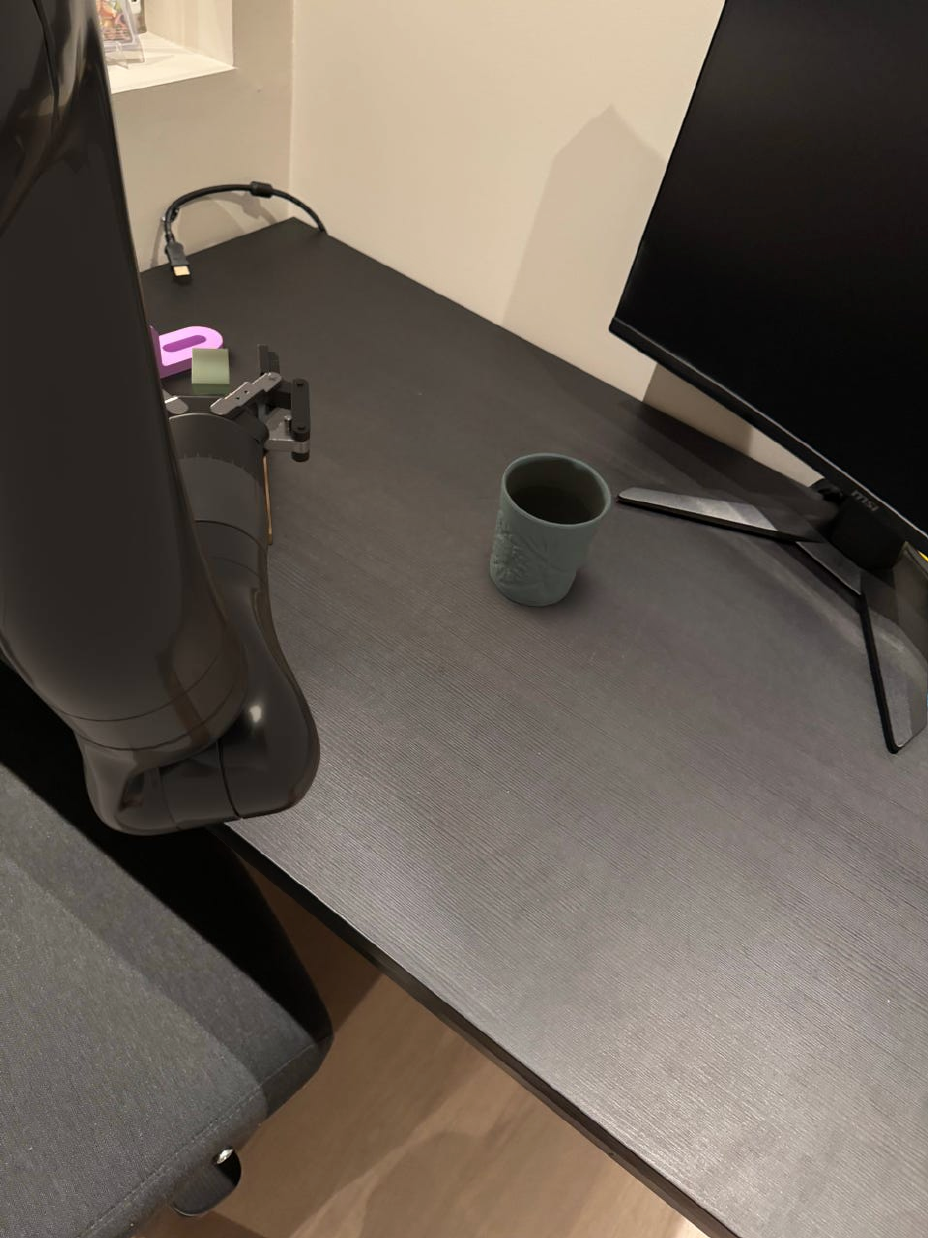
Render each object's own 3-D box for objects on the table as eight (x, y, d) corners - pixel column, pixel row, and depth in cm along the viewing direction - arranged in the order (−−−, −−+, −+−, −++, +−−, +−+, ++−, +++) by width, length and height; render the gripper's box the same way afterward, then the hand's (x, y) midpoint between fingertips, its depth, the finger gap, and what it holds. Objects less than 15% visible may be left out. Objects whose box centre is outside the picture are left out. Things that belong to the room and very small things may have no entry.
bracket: (134, 387, 95) (126, 331, 90) (108, 362, 97) (98, 307, 92) (232, 354, 102) (229, 300, 97) (205, 331, 104) (201, 278, 99)
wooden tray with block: (272, 544, 83) (271, 460, 75) (165, 547, 81) (152, 461, 73) (262, 430, 94) (260, 346, 86) (168, 429, 92) (157, 343, 84)
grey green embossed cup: (586, 560, 89) (620, 472, 80) (565, 627, 82) (599, 539, 73) (495, 530, 90) (519, 439, 81) (467, 594, 83) (489, 502, 74)
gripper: (326, 460, 49) (303, 309, 59) (58, 460, 45) (82, 299, 55) (321, 551, 54) (301, 399, 64) (83, 557, 51) (100, 395, 61)
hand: (200, 353), depth 60 cm, fingers open, 8 cm apart
